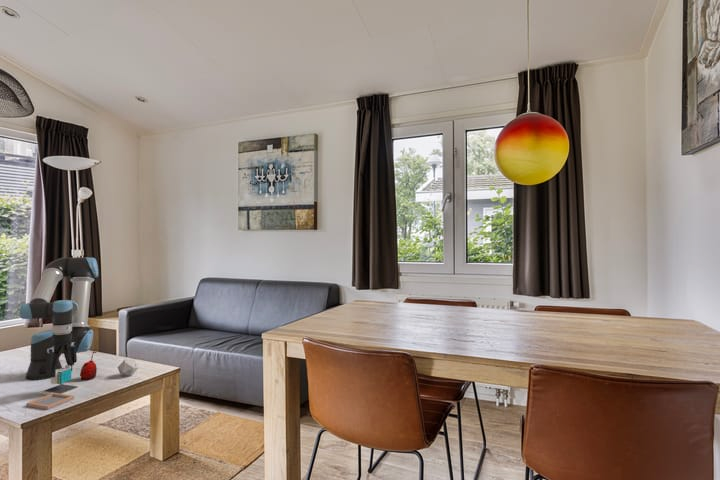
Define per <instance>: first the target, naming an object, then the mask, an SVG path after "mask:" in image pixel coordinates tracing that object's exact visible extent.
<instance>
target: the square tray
mask: <svg viewBox="0 0 720 480" xmlns="http://www.w3.org/2000/svg"><path fill="white" fill-rule="evenodd" d="M72 400H75V395H74V394H73V395H72V394H59V393H52V394H49V395H44V396H42V397H39V398H37V399H34V400H31V401H28V402H26V407H27V408H28V407H29V408H35V409H41V410H47V411H48V410H52V409H53V408H55V407H58V406H61V405H63V404H65V403H68V402H70V401H72Z"/></svg>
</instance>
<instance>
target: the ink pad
mask: <svg viewBox="0 0 720 480" xmlns="http://www.w3.org/2000/svg"><path fill="white" fill-rule="evenodd" d="M80 389H82V386H78V385H72V384H65V383H62V384H57V385H55V386H52V387H50V388H47V389H44V390H41V391H40V394H41V395H45V396H47V395H49V394H52V393H59V394H66V395H70V394H71V393H74V392H76V391H78V390H80Z"/></svg>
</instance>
